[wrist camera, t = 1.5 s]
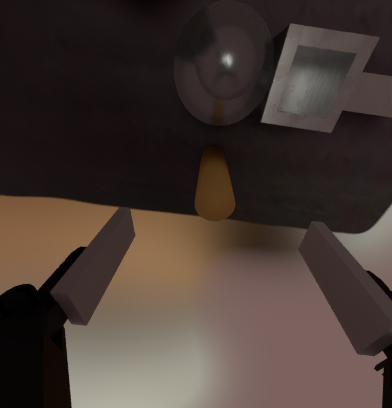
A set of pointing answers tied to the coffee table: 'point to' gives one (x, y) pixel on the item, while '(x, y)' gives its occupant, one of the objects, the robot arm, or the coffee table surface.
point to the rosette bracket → (274, 71)
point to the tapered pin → (214, 186)
